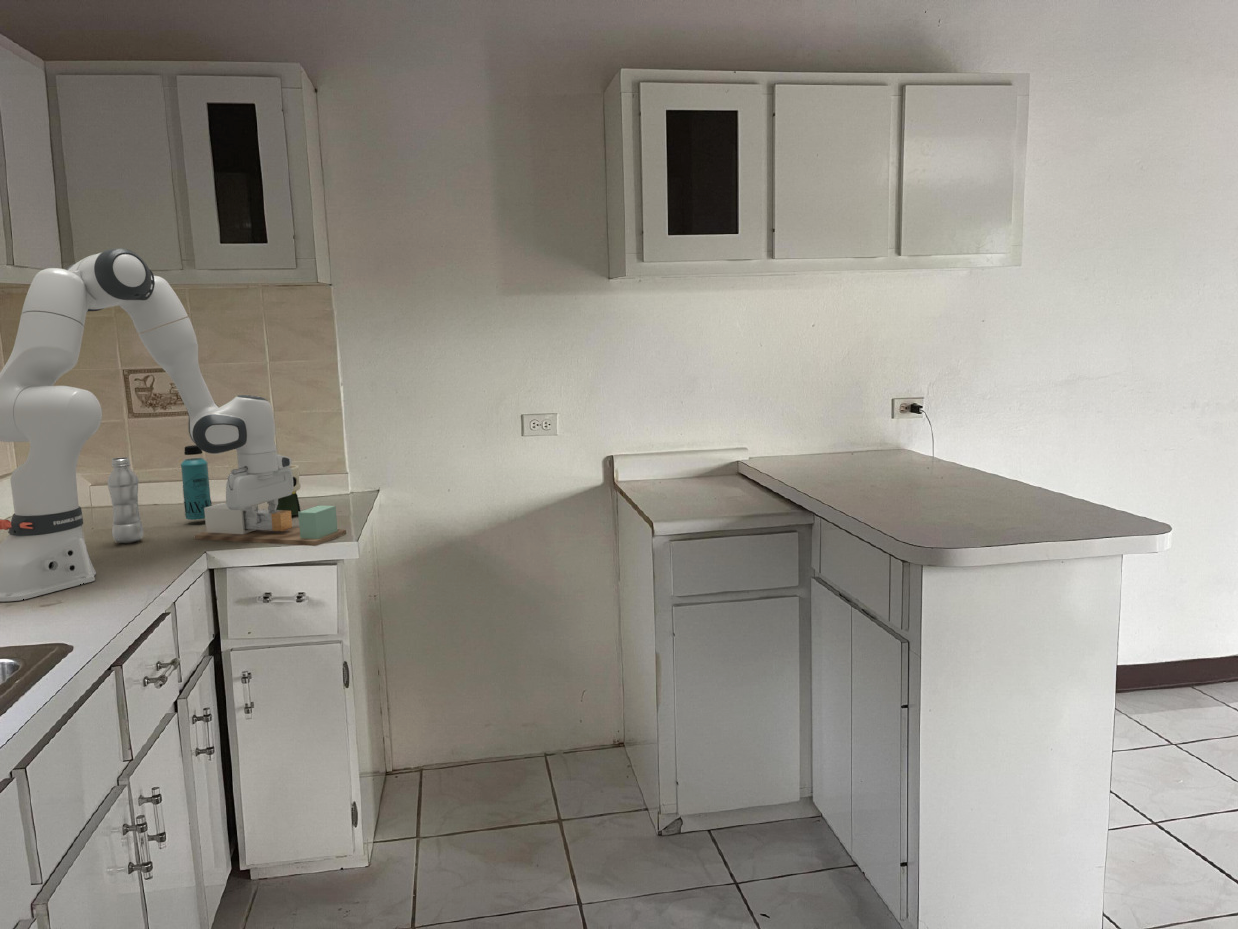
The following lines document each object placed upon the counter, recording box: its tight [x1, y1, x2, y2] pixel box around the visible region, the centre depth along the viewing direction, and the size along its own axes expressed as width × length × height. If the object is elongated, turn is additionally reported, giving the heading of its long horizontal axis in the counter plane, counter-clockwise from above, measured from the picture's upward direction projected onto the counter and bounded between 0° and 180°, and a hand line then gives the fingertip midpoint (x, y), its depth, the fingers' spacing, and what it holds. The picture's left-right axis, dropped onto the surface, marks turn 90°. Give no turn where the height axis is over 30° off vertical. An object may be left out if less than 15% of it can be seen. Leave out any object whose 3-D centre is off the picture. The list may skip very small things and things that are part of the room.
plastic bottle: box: [106, 456, 145, 544], centre depth 221 cm, size 6×7×20 cm
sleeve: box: [204, 502, 259, 534], centre depth 227 cm, size 11×6×6 cm, turn 73°
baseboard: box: [193, 526, 347, 547], centre depth 224 cm, size 34×12×1 cm, turn 73°
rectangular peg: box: [243, 508, 293, 531], centre depth 225 cm, size 20×4×4 cm, turn 73°
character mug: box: [276, 464, 302, 516], centre depth 248 cm, size 11×7×13 cm, turn 173°
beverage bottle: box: [180, 444, 212, 521], centre depth 241 cm, size 6×7×20 cm
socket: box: [297, 505, 338, 539], centre depth 220 cm, size 4×8×6 cm, turn 163°
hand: (263, 521), depth 224 cm, fingers open, 4 cm apart
